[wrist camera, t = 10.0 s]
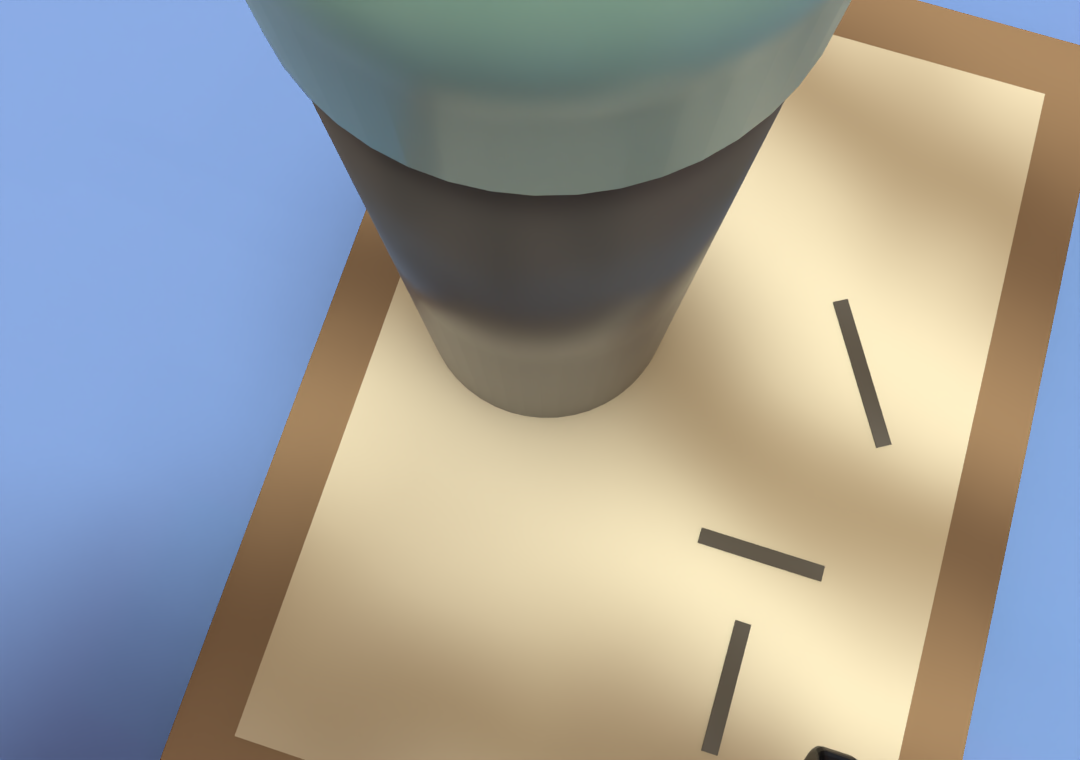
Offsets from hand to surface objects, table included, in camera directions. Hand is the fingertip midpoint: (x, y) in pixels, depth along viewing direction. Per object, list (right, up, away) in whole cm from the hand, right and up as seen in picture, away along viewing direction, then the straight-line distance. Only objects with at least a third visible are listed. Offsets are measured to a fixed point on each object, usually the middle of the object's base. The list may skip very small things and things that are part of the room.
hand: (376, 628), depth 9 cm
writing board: (+4, +2, +9) cm, 11 cm away
